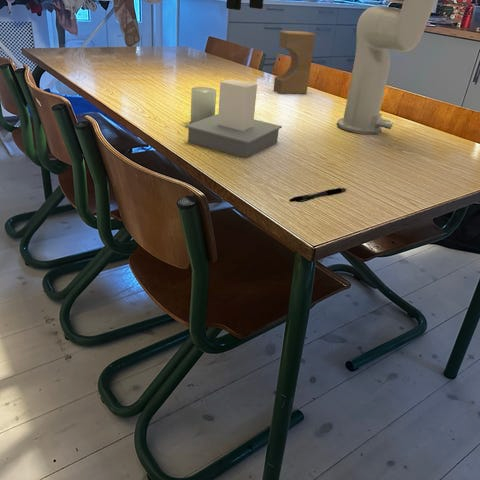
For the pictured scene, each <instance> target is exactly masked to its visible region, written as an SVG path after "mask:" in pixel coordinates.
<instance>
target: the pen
mask: <svg viewBox="0 0 480 480" xmlns="http://www.w3.org/2000/svg"><path fill="white" fill-rule="evenodd" d="M346 191H347V188H345V187H342V188H341V187H337V188H332V189H327V190H324V191H319V192H314V193H310V194H304V195H298V196H293V197H292V198H290V199H289V202H291V203H292V202H297V203H304V202H308V201H310V200H314V199H316V198H321V197H325V196H332V195H336V194H342V193H343V192H346Z"/></svg>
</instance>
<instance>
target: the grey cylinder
mask: <svg viewBox="0 0 480 480" xmlns="http://www.w3.org/2000/svg"><path fill="white" fill-rule="evenodd" d="M190 93H191V98H190V99H191V100H190V122H189V124H190V123H194V122H197V121H200V120H203V119H205V118H208V117H211V116H214V115H216V105H217V104H216V103H217V102H216V101H217V100H216V99H217V89H215V88H212V87H206V86H194V87H192V88H191V92H190Z"/></svg>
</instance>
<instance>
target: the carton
mask: <svg viewBox="0 0 480 480" xmlns="http://www.w3.org/2000/svg"><path fill="white" fill-rule="evenodd" d="M257 89H258V84H257V83H253V82H248V81H243V80H238V79H233V78H231V79H226V80H223V81H222V80H221V81H220V83H219V99H218V113H217V114H218V125H221V126H225V127H229V128H233V129H237V130H241V131H244V130H246V129H249V128H251V127H253V122H254V120H255V110H256V100H257V91H258V90H257Z"/></svg>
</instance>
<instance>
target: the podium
mask: <svg viewBox="0 0 480 480" xmlns="http://www.w3.org/2000/svg"><path fill="white" fill-rule="evenodd" d="M282 126H283V125H279V124H274V123H271V122H267V121H264V120H258V119H254V122H253V127H251V128H249V129H246V130H244V131H241V130H237V129H233V128H229V127H225V126H221V125H218V113H217V114H215V115H214V116H211V117H208V118H205V119H203V120H200V121H197V122H194V123H191V124H190V123H188V124H186V125H185V128H186V129H187V128H188V130H187V132H188V135H187V136H188V137H187V142H188V143H190V144H194V145H198V146H202V147H205V148H209V149H212V150H216V151H219V152H224V153H226V154H230V155H234V156H237V157H240V158H244V159H245V158H246V159H247V158H249V157H252V155H254V154H257V153H258V152H260V151H262V150H264V149H266V148H268V147H270V146H272V145H273V144H275V143H277V142H278V137H279V130H280V129H282Z"/></svg>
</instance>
